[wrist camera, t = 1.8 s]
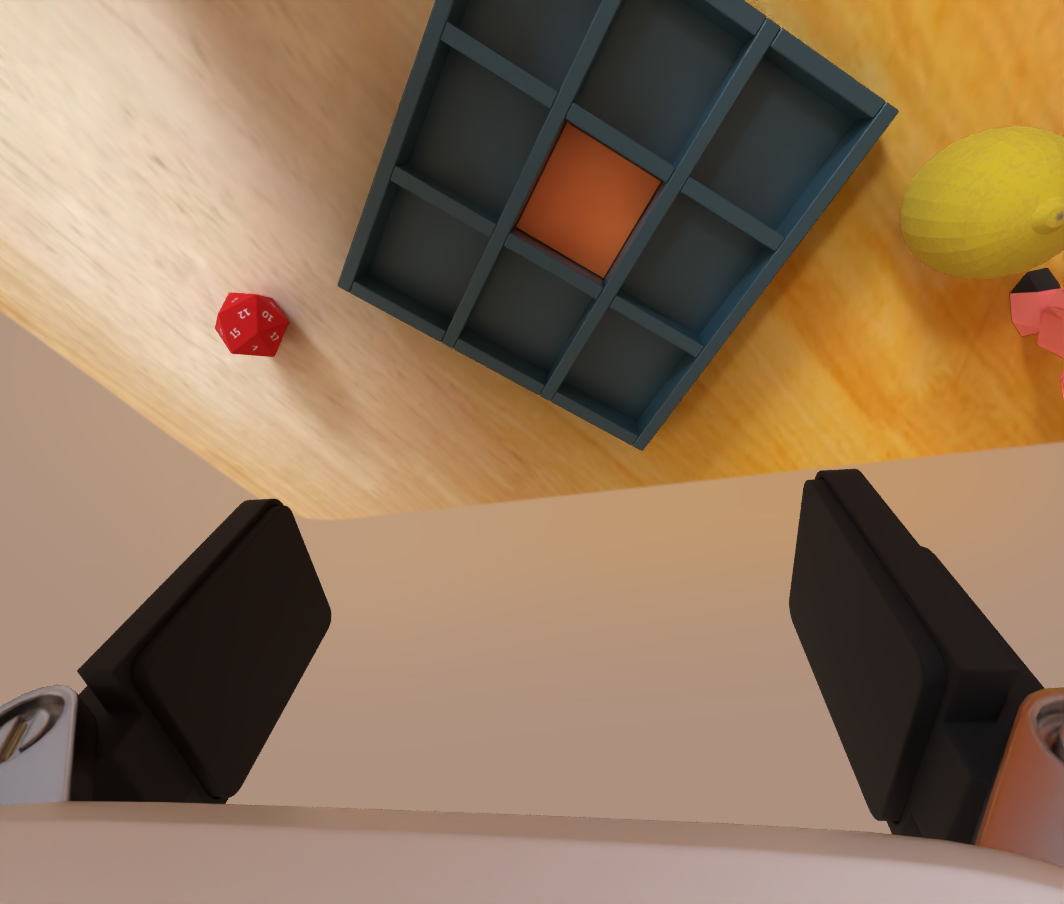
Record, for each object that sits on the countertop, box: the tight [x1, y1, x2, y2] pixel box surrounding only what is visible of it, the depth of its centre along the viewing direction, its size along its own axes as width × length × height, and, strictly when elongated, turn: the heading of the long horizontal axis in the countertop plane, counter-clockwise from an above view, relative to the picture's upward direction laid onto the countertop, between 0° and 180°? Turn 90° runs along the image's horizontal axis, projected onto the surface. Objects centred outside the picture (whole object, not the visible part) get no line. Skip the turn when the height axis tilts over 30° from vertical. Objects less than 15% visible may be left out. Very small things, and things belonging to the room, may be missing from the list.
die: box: [215, 293, 289, 357], centre depth 31 cm, size 4×4×4 cm
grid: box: [338, 0, 899, 451], centre depth 26 cm, size 18×18×2 cm
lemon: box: [900, 126, 1064, 279], centre depth 22 cm, size 6×6×8 cm
